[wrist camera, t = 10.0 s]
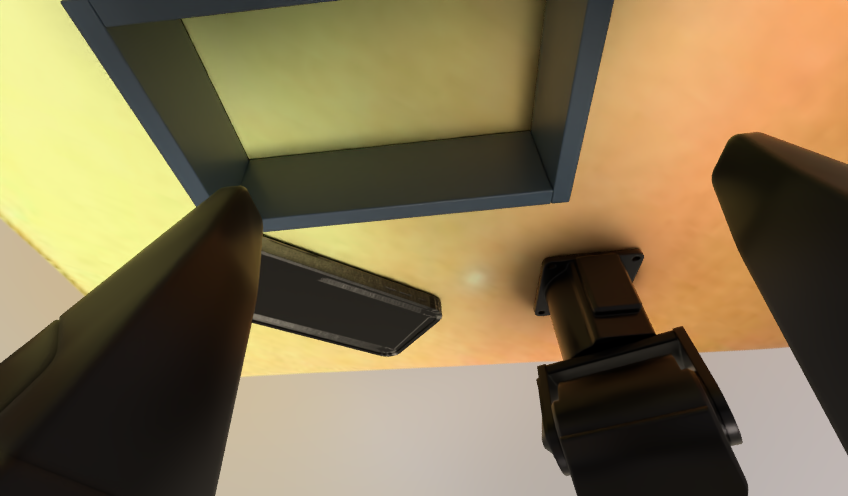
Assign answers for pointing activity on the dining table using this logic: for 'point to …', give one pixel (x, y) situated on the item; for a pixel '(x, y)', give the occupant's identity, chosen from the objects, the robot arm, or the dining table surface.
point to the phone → (339, 302)
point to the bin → (356, 168)
